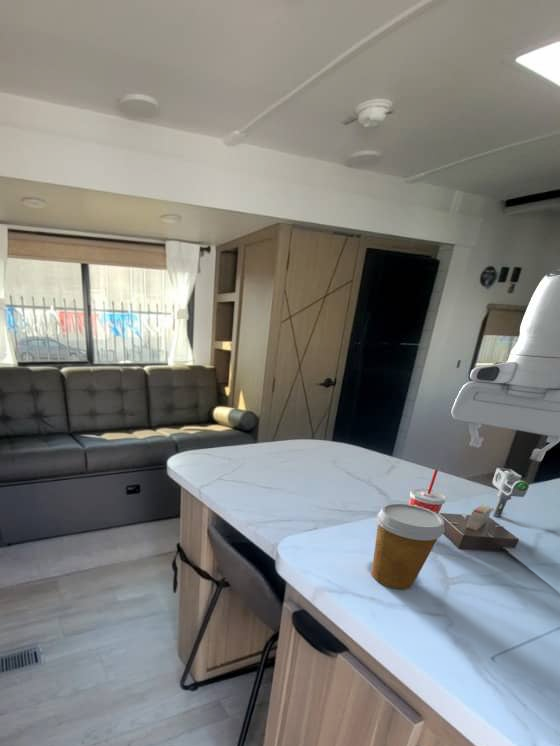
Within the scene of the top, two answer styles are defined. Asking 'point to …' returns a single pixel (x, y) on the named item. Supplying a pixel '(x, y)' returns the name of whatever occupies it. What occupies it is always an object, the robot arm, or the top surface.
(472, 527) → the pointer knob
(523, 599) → the top surface
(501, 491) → the mechanical component
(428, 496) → the beverage cup
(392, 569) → the disposable coffee cup
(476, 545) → the brown square box
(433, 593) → the top surface
